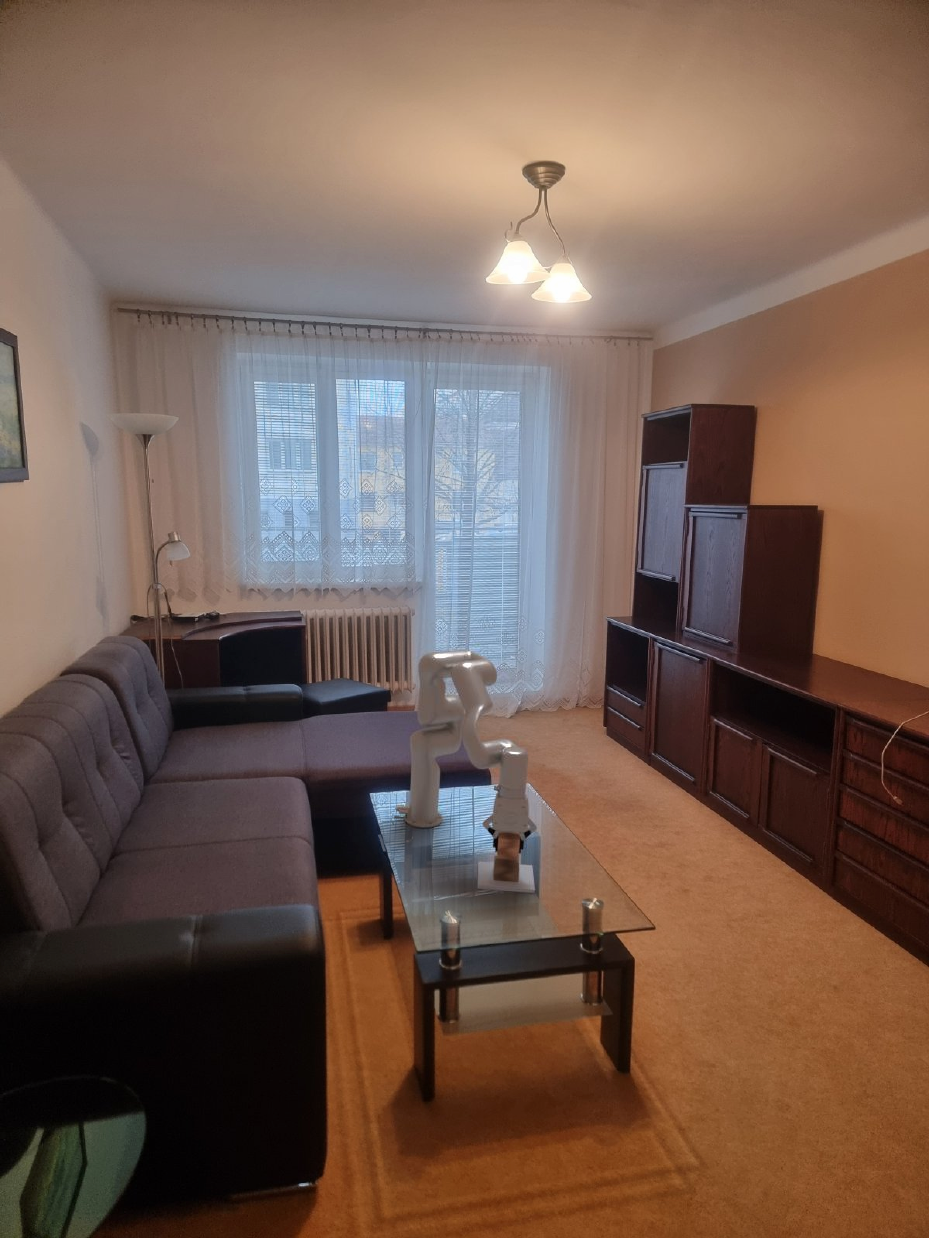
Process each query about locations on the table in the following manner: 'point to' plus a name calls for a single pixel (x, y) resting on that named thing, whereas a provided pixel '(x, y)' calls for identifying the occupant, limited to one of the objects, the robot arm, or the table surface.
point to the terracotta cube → (508, 845)
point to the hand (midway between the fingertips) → (507, 849)
